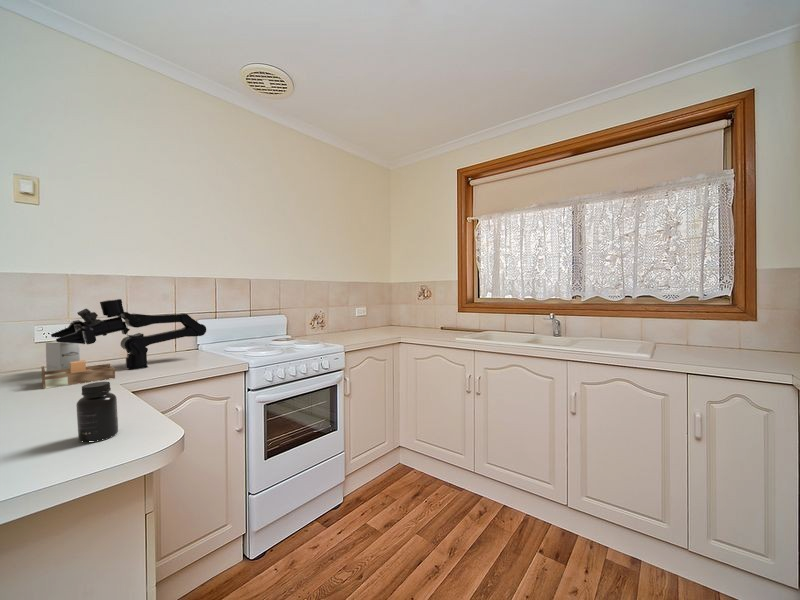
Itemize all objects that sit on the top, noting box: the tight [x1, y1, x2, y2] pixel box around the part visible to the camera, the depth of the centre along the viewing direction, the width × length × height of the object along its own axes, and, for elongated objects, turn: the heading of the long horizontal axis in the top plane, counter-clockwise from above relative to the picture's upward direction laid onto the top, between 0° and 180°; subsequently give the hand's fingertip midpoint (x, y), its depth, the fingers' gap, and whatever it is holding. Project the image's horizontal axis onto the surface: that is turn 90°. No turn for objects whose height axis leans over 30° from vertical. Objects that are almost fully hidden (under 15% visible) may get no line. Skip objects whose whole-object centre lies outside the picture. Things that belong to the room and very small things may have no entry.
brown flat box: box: [41, 363, 116, 390], centre depth 128 cm, size 19×11×6 cm, turn 137°
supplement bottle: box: [76, 381, 119, 442], centre depth 78 cm, size 7×7×12 cm
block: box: [70, 360, 87, 373], centre depth 128 cm, size 4×4×4 cm
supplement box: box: [45, 340, 81, 372], centre depth 143 cm, size 7×7×13 cm
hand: (53, 338), depth 129 cm, fingers open, 9 cm apart
